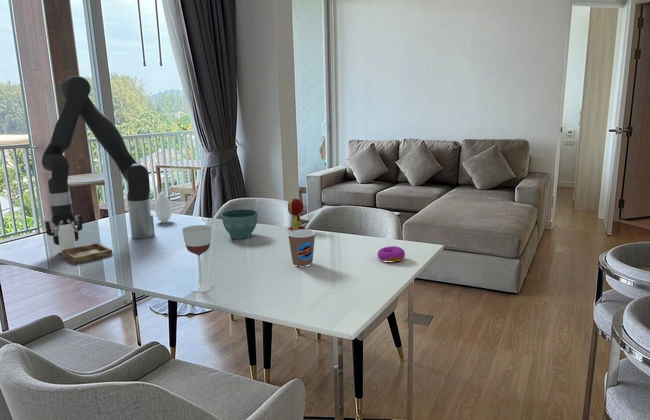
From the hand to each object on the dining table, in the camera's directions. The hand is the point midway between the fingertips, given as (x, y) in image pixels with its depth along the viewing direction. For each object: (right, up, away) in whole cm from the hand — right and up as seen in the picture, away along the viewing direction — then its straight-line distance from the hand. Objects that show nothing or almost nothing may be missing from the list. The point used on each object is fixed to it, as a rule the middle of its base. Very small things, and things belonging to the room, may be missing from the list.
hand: (66, 242), depth 198 cm
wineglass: (+66, -12, -42) cm, 80 cm away
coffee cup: (+98, -7, -21) cm, 101 cm away
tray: (+11, -5, -5) cm, 13 cm away
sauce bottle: (+24, +7, +49) cm, 55 cm away
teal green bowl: (+69, +1, +19) cm, 71 cm away
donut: (+131, -6, -18) cm, 133 cm away
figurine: (+93, +4, +28) cm, 98 cm away
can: (0, -4, +1) cm, 4 cm away
